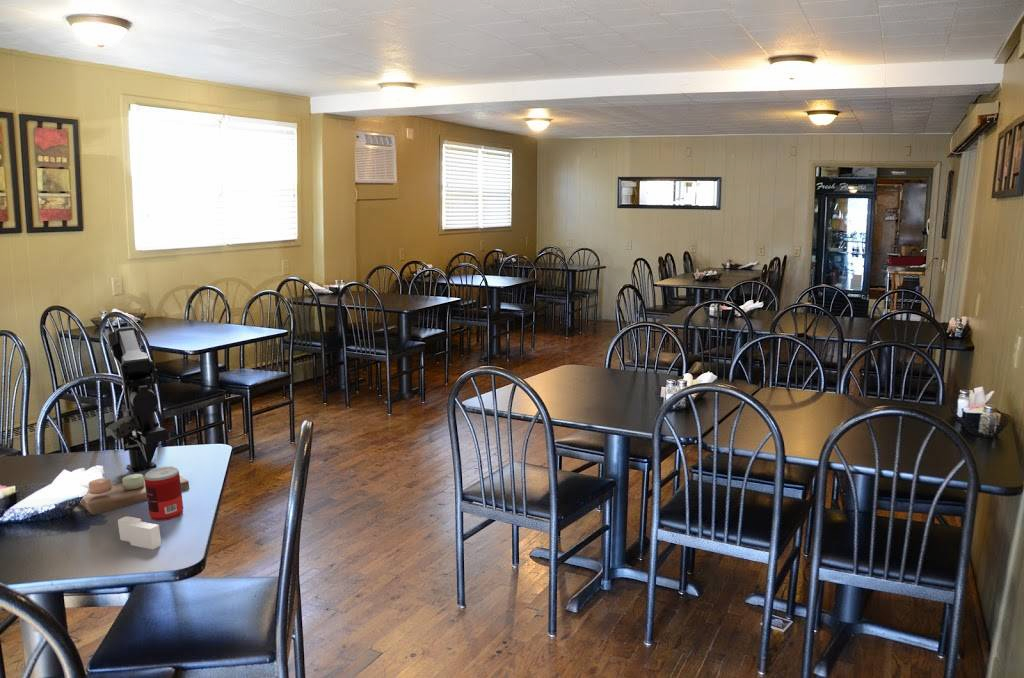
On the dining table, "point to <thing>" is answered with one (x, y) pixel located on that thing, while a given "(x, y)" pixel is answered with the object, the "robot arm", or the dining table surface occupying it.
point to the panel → (118, 497)
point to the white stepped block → (139, 532)
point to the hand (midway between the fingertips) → (149, 461)
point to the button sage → (133, 481)
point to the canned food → (163, 493)
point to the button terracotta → (100, 486)
